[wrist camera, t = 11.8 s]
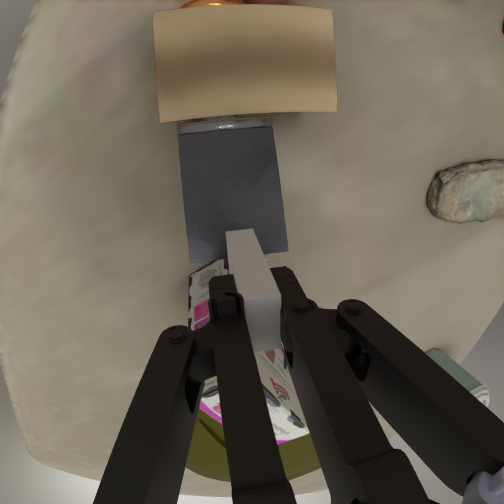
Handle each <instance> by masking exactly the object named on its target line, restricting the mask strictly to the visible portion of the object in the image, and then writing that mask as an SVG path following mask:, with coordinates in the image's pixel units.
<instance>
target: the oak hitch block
mask: <svg viewBox="0 0 504 504" xmlns="http://www.w3.org/2000/svg"><path fill="white" fill-rule="evenodd" d="M153 30H154V50H155V66H156V80H157V93H158V104H159V115H160V123H164V122H171V121H178V120H186V119H194V118H203V117H213V116H224V115H237V114H252V113H272V112H337V87H336V63H335V46H334V31H333V18H332V9H324V8H315V7H304V6H289V5H260V4H247V5H218V6H203V7H192V8H183V9H175V10H167V11H160V12H154V13H153Z"/></svg>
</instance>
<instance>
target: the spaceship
mask: <svg viewBox="0 0 504 504" xmlns="http://www.w3.org/2000/svg"><path fill="white" fill-rule="evenodd" d="M278 448H279V452H280V456H281V460H282V463H283V467H284V471H285V474H286V478H287V480H288V481H289V480H292V479H294V478H297V477H299V476H302V475H304V474H307V473H309V472H312V471H314V470H317V469H319V468H321V465H320V462H319V459H318V456H317V453H316V450H315V447H314V444H313V441H312V438H311V435H310V433H309V434H306V435H304V436H302V437H300V438H297V439H295V440H292V441H290V442H288V443H286V444H283V445H281V446H278ZM185 467H186V468H188V469H189V470H191V471H193V472H195V473H197V474H199V475H202V476H205V477H207V478H211V479H216V480H221V481H227V482H231V479H230V473H229V466H228V460H227V453H226V446H225V439H224V432H223V425H222V424H221V423H219V422H218V421H216V420H215V419H213V418H212V417H211V416H209V415H207V414H206V413H205V412H203V411H202V410H200V409H199V410H198V414H197V419H196V423H195V427H194V431H193V436H192V440H191V444H190V449H189V453H188V457H187V461H186V466H185Z"/></svg>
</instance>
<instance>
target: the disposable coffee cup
mask: <svg viewBox="0 0 504 504" xmlns="http://www.w3.org/2000/svg"><path fill="white" fill-rule="evenodd" d="M426 354H427V355H428V356H429V357H430V358H431V359H433V360H434V361H435V362H436V363H437V364H438V365H439V366H441V367H442V368H443V369H444V370H445V371H446V372H448V373H449V374H450V375H451V376H452V377H453V378H454V379H456V380H457V381H458V382H459V383H460V384H461V385H462V386H463V387H465V388H466V389H467V390H468V391H469V392H470V393H471V394H473V395H474V396H475V397H476V398H477V399H478V400H479V401H480V402H481V403H483V404H484V405H485V406H486V407H487V406H488V404H489V402H490V397H489V390H488V388H487V386H483V385H482V384H481V383H480V382H479V381H478V380H476V379H475V378H474V377H473V376H472V375H470V374H469V373H468V372H467V371H466V370H464V369H463V368H462V367H461V366H460V365H458V364H457V363H456V362H455V361H454V360H452V359H451V358H450V357H449V356H448V355H446V354H445V353H444V352H443V351H440V350H438V349H432V350H429V351H427V352H426Z"/></svg>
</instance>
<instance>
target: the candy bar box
mask: <svg viewBox="0 0 504 504" xmlns="http://www.w3.org/2000/svg"><path fill="white" fill-rule="evenodd" d="M228 274H230V272H229V262H228V259H221V260H215V261H214V262H212V263H211V264H209V265H207V266H205V267H203V268H202V269H200V270H198V271H196V272H195V273H193V274H192V275H190V276H189V308H188V309H189V310H188V327H189V328H191V329H192V331H194V330H196V329H199V328H201V327H203V326H205V325H206V324H207V323H208V322H209V320H210V313H209V307H208V300H209V298H210V297H209V285H208V282H209V281H210V279H211V278H212V276H220V275H228ZM254 354H255V358H256V362H257V366H258V370H259V374H260V378H261V382H262V386H263V390H264V394H265V398H266V402H267V406H268V410H269V414H270V418H271V422H272V425H273V429H274V433H275V437H276V441H277V444H278V446H281V445H283V444H286V443H288V442H290V441H292V440H295V439H297V438H300V437H302V436H304V435H306V434H309V433H310V432H309V430H308V427H307V424H306V421H305V418H304V415H303V412H302V409H301V406H300V403H299V400H298V397H297V394H296V391H295V388H294V385H293V382H292V379H291V376H290V373H289V370H288V367H287V365H286V369H284V350H283V347H282V344H281V348H279V349H273V350H267V351H261V352H254ZM199 409H200V410H202V411H203V412H205V413H206V414H207V415H209V416H211V417H212V418H213V419H215V420H216V421H218V422H219V423H221V424H222V417H221V409H220V401H219V393H218V384H217V376H215V377H212V378H210V379H207V380H205V385H204V389H203V393H202V398H201V402H200V406H199ZM222 425H223V424H222Z"/></svg>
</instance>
